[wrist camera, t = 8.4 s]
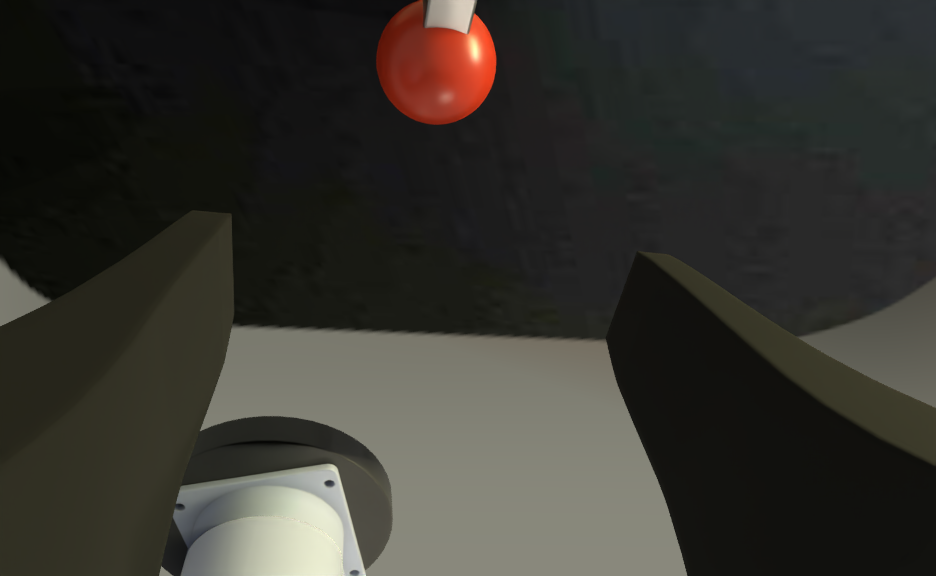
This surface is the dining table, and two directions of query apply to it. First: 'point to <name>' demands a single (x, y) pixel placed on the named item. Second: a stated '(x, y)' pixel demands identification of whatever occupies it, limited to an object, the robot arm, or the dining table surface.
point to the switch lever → (436, 60)
